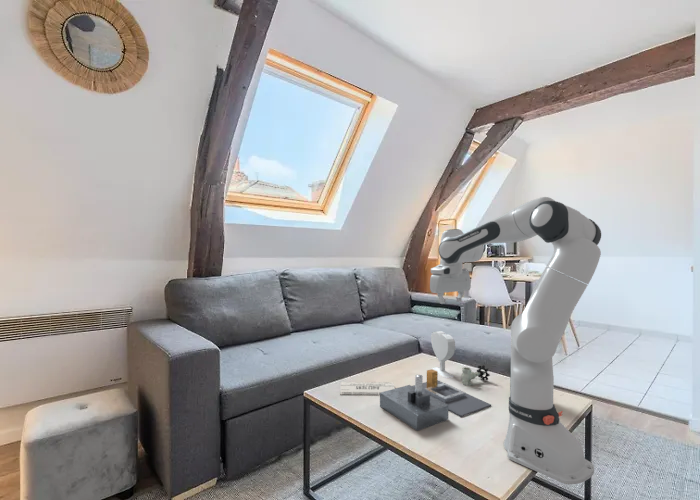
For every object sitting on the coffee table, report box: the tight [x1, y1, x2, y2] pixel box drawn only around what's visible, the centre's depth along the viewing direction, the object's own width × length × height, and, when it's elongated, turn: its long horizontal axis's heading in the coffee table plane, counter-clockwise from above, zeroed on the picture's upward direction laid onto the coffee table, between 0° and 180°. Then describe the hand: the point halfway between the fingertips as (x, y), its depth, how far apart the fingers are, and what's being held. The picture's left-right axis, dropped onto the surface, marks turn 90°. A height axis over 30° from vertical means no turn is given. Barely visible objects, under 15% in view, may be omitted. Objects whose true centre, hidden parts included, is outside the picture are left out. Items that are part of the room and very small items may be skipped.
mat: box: [412, 379, 492, 418], centre depth 141 cm, size 28×16×1 cm, turn 31°
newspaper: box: [339, 381, 396, 396], centre depth 148 cm, size 23×12×2 cm, turn 90°
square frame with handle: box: [424, 368, 466, 403], centre depth 143 cm, size 14×11×7 cm
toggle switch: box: [379, 374, 449, 431], centre depth 128 cm, size 20×14×14 cm
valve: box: [461, 364, 491, 387], centre depth 155 cm, size 7×7×12 cm
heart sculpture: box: [430, 330, 456, 379], centre depth 167 cm, size 16×5×18 cm, turn 15°
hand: (450, 302), depth 149 cm, fingers open, 8 cm apart
